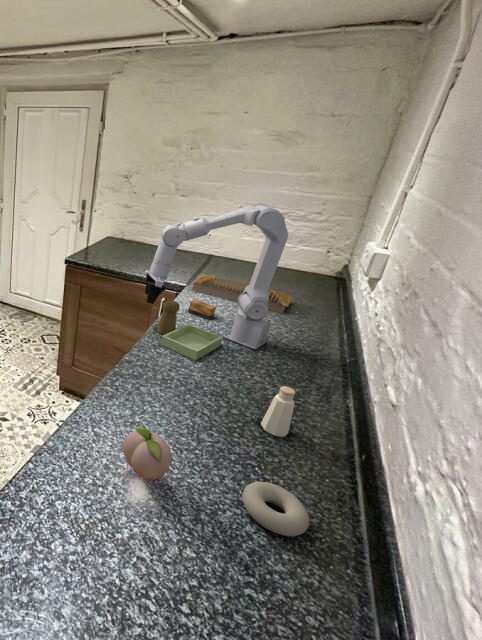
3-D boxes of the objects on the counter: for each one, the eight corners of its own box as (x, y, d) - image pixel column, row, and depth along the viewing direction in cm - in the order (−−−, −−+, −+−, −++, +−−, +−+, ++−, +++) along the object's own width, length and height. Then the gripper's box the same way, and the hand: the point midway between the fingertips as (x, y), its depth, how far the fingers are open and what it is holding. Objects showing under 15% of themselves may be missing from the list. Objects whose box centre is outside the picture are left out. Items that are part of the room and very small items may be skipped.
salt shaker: (288, 440, 88) (304, 400, 84) (260, 431, 91) (273, 391, 86) (287, 426, 92) (302, 387, 88) (260, 417, 95) (273, 379, 91)
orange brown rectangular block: (213, 317, 146) (216, 306, 145) (208, 320, 144) (211, 308, 143) (192, 310, 152) (195, 299, 151) (187, 312, 150) (190, 301, 149)
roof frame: (290, 303, 160) (295, 289, 158) (285, 314, 150) (290, 300, 148) (199, 281, 182) (202, 269, 179) (189, 290, 172) (192, 276, 169)
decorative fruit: (176, 487, 76) (187, 446, 72) (139, 497, 73) (148, 455, 70) (146, 451, 84) (154, 413, 80) (112, 459, 82) (119, 420, 78)
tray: (220, 345, 127) (222, 337, 126) (195, 360, 118) (197, 351, 117) (186, 331, 136) (188, 323, 134) (160, 344, 127) (162, 335, 126)
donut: (277, 489, 76) (228, 491, 75) (282, 476, 75) (233, 478, 74) (320, 539, 67) (265, 542, 66) (327, 525, 65) (271, 528, 64)
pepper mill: (177, 336, 132) (183, 306, 128) (158, 334, 133) (163, 304, 129) (173, 328, 138) (179, 299, 134) (155, 326, 139) (160, 297, 135)
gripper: (148, 252, 137) (136, 287, 142) (152, 265, 124) (138, 303, 129) (169, 257, 135) (155, 293, 141) (175, 271, 122) (160, 309, 128)
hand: (148, 298), depth 135 cm, fingers open, 7 cm apart
